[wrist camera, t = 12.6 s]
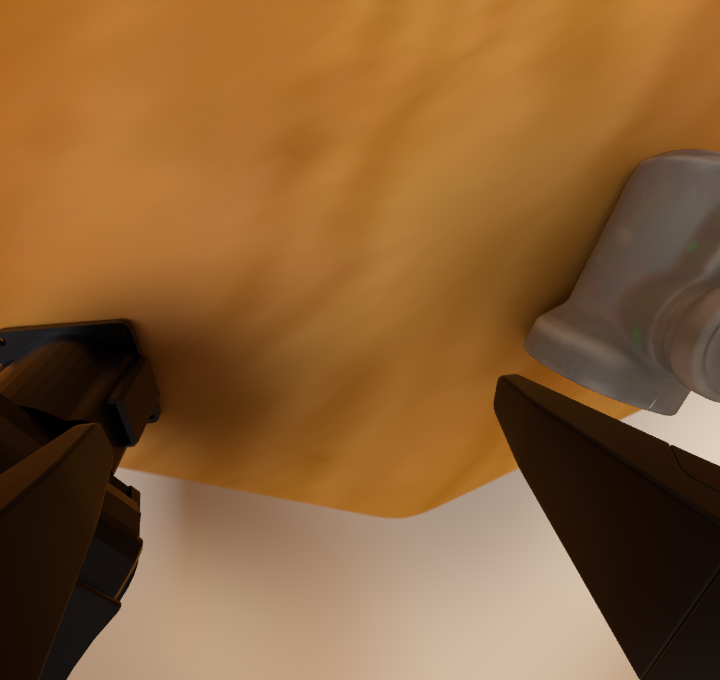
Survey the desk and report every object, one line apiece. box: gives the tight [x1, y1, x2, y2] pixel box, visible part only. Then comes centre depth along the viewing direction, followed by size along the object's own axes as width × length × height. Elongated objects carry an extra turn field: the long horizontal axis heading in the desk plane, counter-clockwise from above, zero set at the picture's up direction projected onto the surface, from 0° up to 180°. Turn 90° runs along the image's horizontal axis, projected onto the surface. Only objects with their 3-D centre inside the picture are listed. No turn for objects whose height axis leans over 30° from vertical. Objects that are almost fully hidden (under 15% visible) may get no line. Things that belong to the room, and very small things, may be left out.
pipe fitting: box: [523, 149, 720, 416], centre depth 20 cm, size 12×8×10 cm
